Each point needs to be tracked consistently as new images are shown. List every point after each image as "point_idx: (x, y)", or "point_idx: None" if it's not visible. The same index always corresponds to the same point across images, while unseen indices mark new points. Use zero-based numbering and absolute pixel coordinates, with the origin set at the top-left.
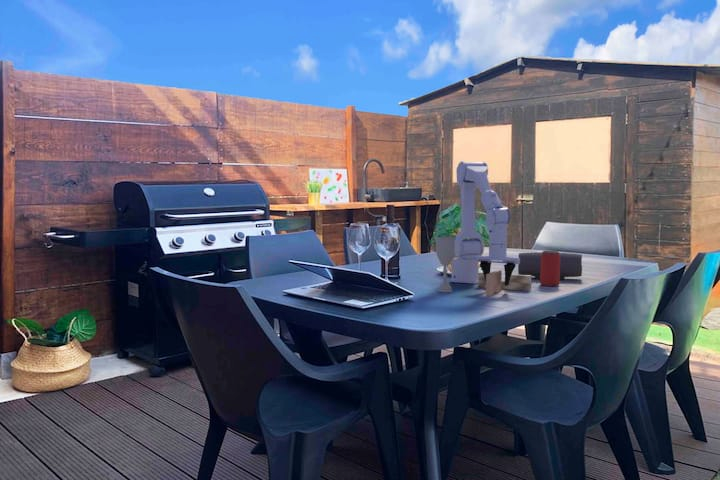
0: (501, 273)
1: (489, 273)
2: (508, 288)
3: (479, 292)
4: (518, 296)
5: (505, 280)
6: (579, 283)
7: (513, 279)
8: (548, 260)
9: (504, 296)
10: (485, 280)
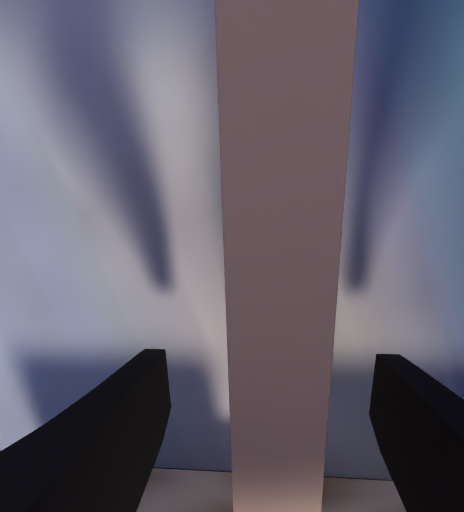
0: None
1: (325, 59)
2: (221, 477)
3: (420, 225)
4: (3, 191)
5: (129, 378)
6: None
7: None
8: None
9: (108, 120)
10: (431, 378)
